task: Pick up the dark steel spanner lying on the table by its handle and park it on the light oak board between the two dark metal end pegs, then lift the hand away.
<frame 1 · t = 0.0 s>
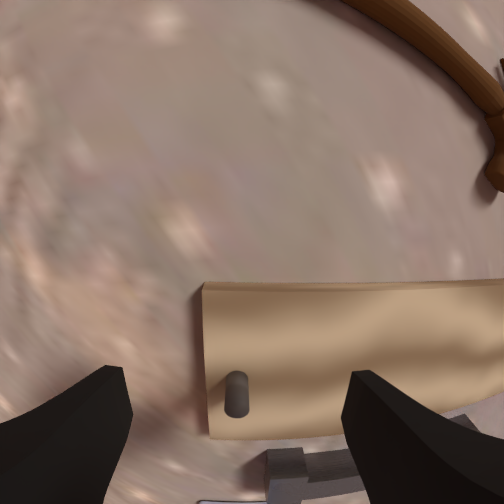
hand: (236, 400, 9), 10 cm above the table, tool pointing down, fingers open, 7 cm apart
oak board: (419, 354, 20), on the table
spanner: (374, 452, 23), on the table
hammer: (385, 13, 15), on the table
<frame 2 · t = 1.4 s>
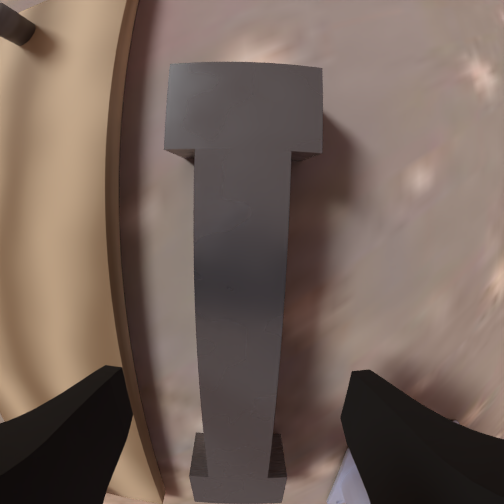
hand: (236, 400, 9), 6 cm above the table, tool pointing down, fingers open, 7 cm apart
oak board: (31, 291, 13), on the table
spanner: (239, 324, 14), on the table
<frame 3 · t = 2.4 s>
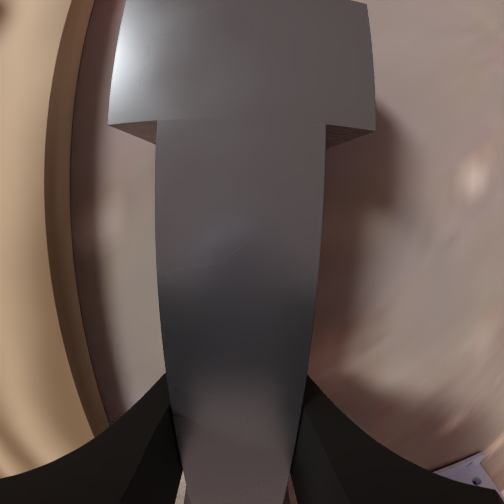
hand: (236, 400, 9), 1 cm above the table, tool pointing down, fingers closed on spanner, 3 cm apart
spanner: (236, 374, 10), on the table, touching gripper
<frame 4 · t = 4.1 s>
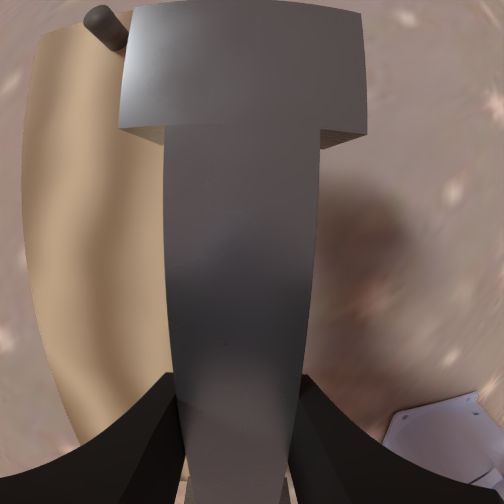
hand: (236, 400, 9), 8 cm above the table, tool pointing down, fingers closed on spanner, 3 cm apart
oak board: (122, 288, 17), on the table
spanner: (237, 365, 11), point 7 cm above the table, touching gripper
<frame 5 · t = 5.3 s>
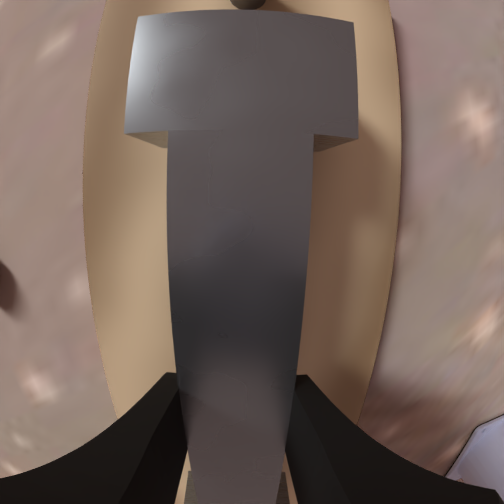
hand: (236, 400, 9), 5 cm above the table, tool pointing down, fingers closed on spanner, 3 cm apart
oak board: (238, 332, 13), on the table
spanner: (236, 360, 11), point 2 cm above the table, touching gripper
when the fingers open (4 cm above the table, at t = 5.8 s): spanner stays where it is, resting on oak board.
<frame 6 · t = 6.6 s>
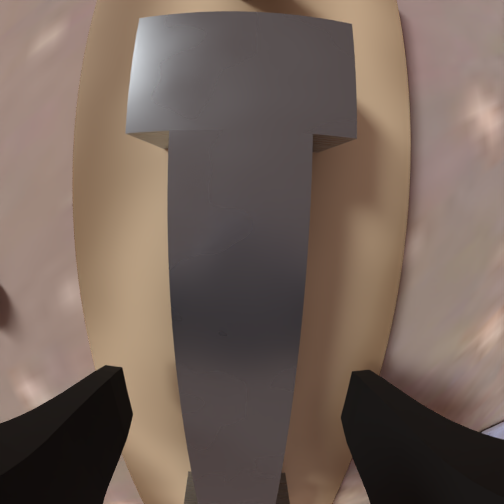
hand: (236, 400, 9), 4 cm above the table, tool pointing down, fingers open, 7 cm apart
oak board: (237, 340, 12), on the table
spanner: (236, 360, 11), point 1 cm above the table, touching oak board
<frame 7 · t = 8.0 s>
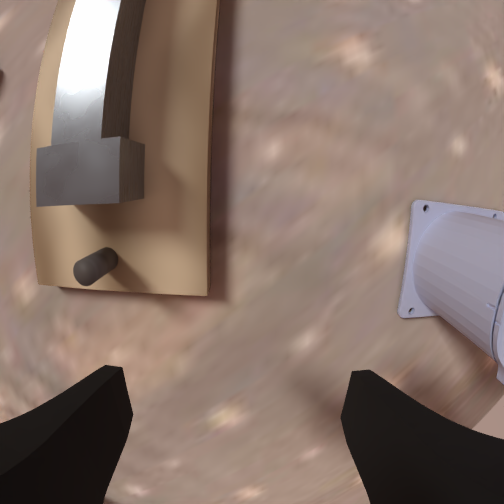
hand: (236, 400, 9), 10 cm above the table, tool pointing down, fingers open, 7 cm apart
oak board: (126, 42, 15), on the table
spanner: (118, 33, 14), point 1 cm above the table, touching oak board
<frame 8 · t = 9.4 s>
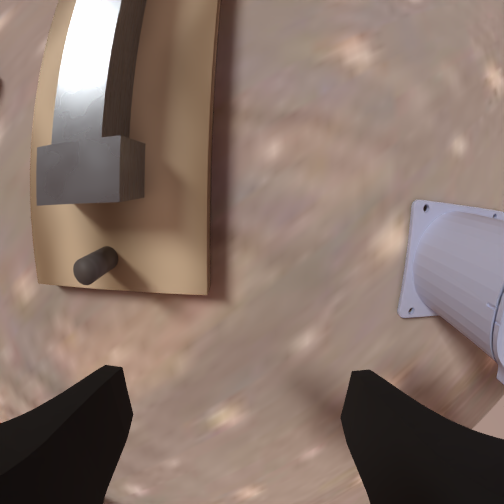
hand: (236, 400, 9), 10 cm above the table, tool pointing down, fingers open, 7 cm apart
oak board: (127, 41, 15), on the table
spanner: (118, 33, 14), point 1 cm above the table, touching oak board
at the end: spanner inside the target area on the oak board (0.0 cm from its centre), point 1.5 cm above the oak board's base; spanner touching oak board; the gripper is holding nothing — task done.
